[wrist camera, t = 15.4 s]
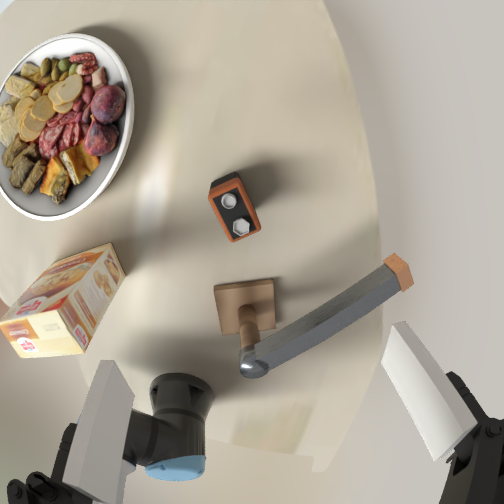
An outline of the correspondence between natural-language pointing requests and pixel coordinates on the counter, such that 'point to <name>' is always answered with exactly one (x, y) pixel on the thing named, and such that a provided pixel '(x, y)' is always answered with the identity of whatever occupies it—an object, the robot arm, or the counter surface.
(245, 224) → the battery
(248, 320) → the arm post
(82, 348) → the coffeecake box
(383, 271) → the swing arm
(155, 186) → the counter surface
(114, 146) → the bowl
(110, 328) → the counter surface
